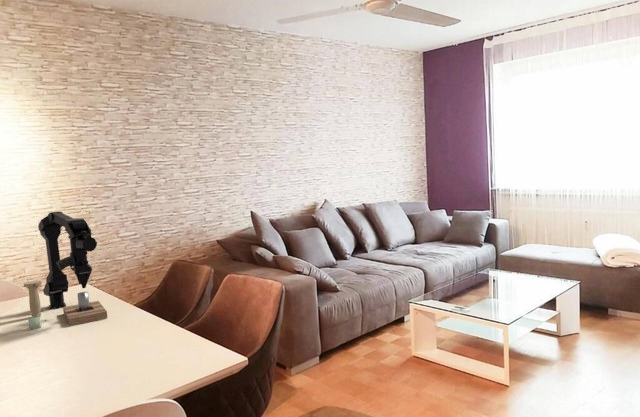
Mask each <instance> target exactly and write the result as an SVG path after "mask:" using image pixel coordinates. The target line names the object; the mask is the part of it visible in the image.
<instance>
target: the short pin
mask: <svg viewBox="0 0 640 417" xmlns="http://www.w3.org/2000/svg"><path fill="white" fill-rule="evenodd" d="M27 322H28V330H29V331H36V330H39V329H41V328H42V324H41V316H39V317H32V316H31V317H29V318H28V319H27ZM35 329H36V330H35Z"/></svg>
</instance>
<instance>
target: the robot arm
mask: <svg viewBox="0 0 640 417" xmlns="http://www.w3.org/2000/svg"><path fill="white" fill-rule="evenodd" d="M37 227H38V231H39V233H40V236H41V237H42V238H43V239H44V240H45V246H46V247H45V248H46V256H47V262H48V263H47V264H48V270H49V273H47V276H46V279H45V280H46V283H45V285H44V287H43V290H42V291H43V295H44V296H48V299H49V304H48V308H49V310H53V309H60V308H63V307H67V304H66V302H65V298H64V297H65V296H64V293H68V291H69V279H68V277H67V276H68V275H67V274H65V273H64V272H63V270H65V269H66V268H70V270H71V271H73V272H74V273H73V274H74V275H75V277H76V278H77V281H78V285H80V286H81V288H82V289H86V287H87V284H88V282H89V279H90V276H91V274H92V272H93V268H92V267H93V266H91V265H90V264H89V260H88V252H92V251H95V250H96V248H97V245H98V242H97V240H96V239H95V238H94V237H92V234H93V233H92V229H91V228H90V226H89V224H88V223H87V221H86V219H84V218H80V217H79V218H78V217H77V218H76V217H75V218H74V217H71V216H69V215H67V214H65V213H64V212H62V211H60V210H59V211H52V212H49V213H48V214H47V215H45V217H43V218H42V219H40V221H39V223H38V226H37ZM62 227H64V231H65V232H66V233H67V234H68V236H67V238H68V239H69V244H70V252H69V255H68V256H67V257H64V258H62V259H61V255H60V247H59V240H58V239H59V237H60V236H61V233H62Z"/></svg>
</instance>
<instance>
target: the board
mask: <svg viewBox="0 0 640 417" xmlns="http://www.w3.org/2000/svg"><path fill="white" fill-rule="evenodd" d="M89 307H90V310H88V311H83V312H79V304H74V305H68V306H67V305H66V306H65V307H62V310H63V315H64V317H65V319H66V321H67V324H68V326H69V327H73V326H77V325H81V324H82V325H83V324H86V323H91V322H96V321H101V320H107V319H108V312H107V310H106V308H105V307H104V306H103V305H102V303H101V302H100V301H99V300H95V301H91V302H90V301H89Z"/></svg>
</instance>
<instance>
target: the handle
mask: <svg viewBox="0 0 640 417" xmlns="http://www.w3.org/2000/svg"><path fill="white" fill-rule="evenodd" d="M41 285H42V280H33V281H26V282H24V283H23V287H24V288H27V289H28V298H29V299H28V300H29V301H28V302H29V303H28V304H29V311H30V314H31V315H30V316H31V318H32V317H41V314H42V313H41V311H42V310H41V308H42V306H41V299H40V295H39V294H40V293H39V286H41Z"/></svg>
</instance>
